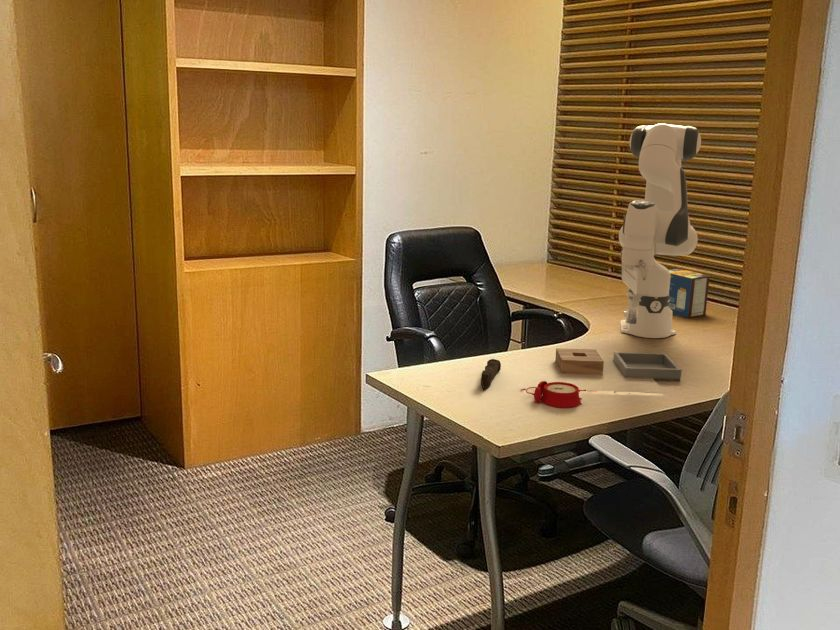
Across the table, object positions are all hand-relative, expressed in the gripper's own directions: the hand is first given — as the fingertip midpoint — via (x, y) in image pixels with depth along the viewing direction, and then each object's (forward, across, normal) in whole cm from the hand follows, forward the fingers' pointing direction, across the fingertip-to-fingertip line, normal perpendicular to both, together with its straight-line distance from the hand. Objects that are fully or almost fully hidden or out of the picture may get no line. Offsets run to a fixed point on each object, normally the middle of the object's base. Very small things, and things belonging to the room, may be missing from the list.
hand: (633, 304), depth 240 cm
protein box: (+22, +77, -37) cm, 88 cm away
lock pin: (+6, 0, 0) cm, 6 cm away
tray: (+20, 0, -5) cm, 21 cm away
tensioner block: (+20, -1, +15) cm, 25 cm away
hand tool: (+21, -14, +42) cm, 48 cm away
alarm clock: (+20, -28, +25) cm, 43 cm away
